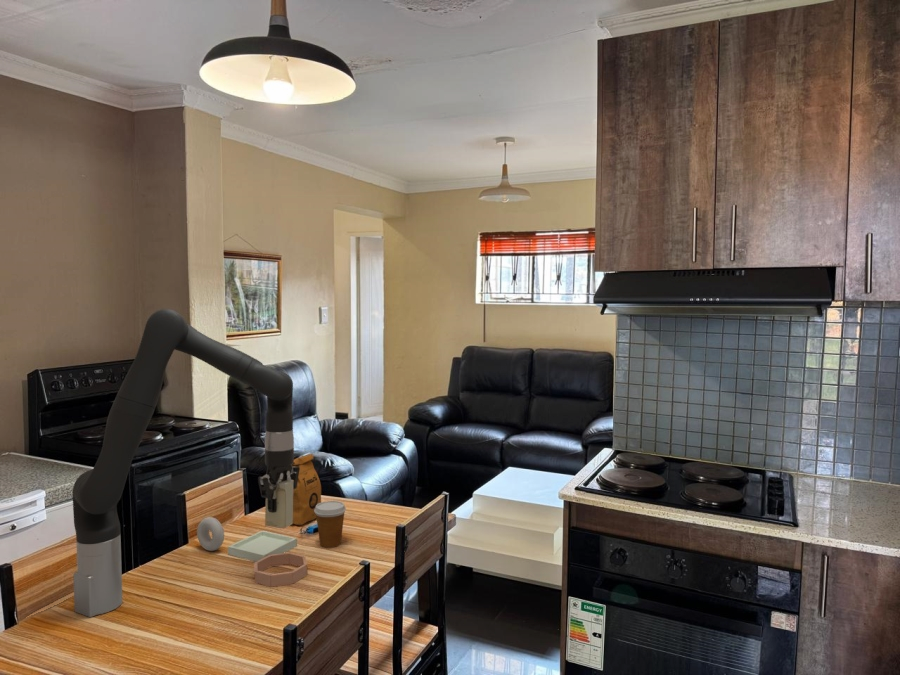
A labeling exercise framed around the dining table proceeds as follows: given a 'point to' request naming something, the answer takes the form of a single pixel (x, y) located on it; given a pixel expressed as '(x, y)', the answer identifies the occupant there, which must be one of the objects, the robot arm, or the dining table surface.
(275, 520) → the skincare box
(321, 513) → the disposable coffee cup
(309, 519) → the coffee package
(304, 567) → the holder ring
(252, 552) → the tray
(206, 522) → the donut
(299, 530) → the dining table surface
